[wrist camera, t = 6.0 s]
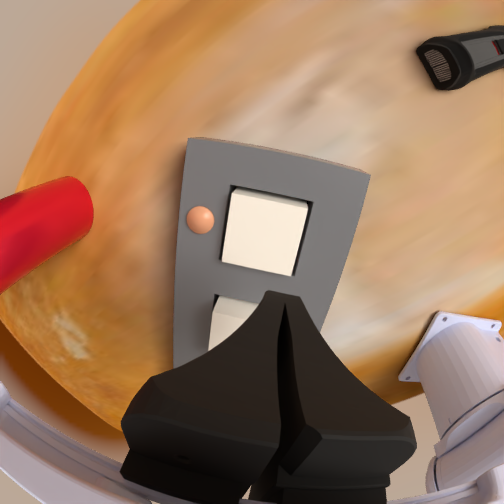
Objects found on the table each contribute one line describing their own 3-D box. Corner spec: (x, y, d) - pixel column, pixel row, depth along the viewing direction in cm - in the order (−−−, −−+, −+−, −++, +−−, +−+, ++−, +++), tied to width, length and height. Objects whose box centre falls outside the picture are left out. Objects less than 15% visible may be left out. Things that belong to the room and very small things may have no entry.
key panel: (359, 169, 16) (371, 175, 14) (278, 406, 26) (276, 427, 23) (201, 137, 17) (187, 137, 14) (182, 385, 26) (174, 404, 24)
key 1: (304, 195, 17) (307, 208, 14) (290, 253, 19) (290, 276, 16) (241, 182, 18) (232, 193, 15) (232, 241, 19) (221, 261, 16)
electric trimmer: (538, 60, 9) (559, 58, 6) (437, 95, 13) (461, 91, 11) (520, 23, 8) (539, 17, 5) (410, 46, 12) (430, 33, 10)
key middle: (280, 297, 19) (278, 326, 17) (268, 340, 21) (265, 369, 18) (223, 285, 20) (212, 311, 17) (217, 329, 21) (207, 357, 18)
